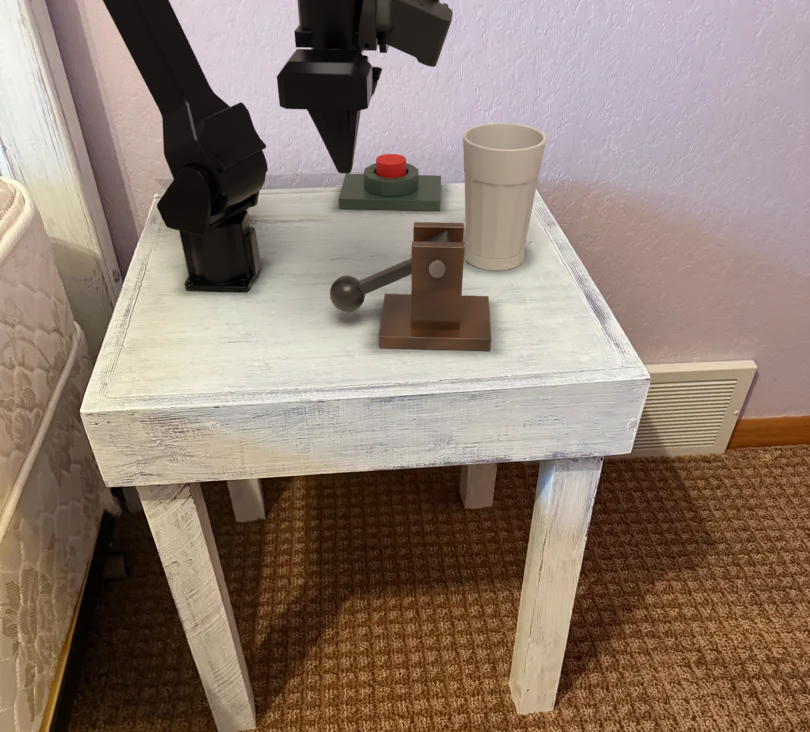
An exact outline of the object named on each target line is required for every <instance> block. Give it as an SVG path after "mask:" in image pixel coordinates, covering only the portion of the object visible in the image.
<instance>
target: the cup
mask: <svg viewBox="0 0 810 732" xmlns="http://www.w3.org/2000/svg"><path fill="white" fill-rule="evenodd" d="M546 142H547V136H546V134H545V133H544V132H543V131H542V130H540V129H538V128H535V127H533V126H529V125H525V124H519V123H511V122H493V123H492V122H491V123H482V124H478V125H474V126H472V127H470V128H468V129H466V130H465V131H464V132H463V134H462V146H463V147H462V148H463V150H462V151H463V172H464V221H465V222H464V223H465V224H464V233H465V242H464V260H465V261H466V262H467V263H468V264H469V265H471V266H473V267H475V268H477V269H481V270H484V271H485V270H486V271H507V270H511V269H514V268H517V267H519V266H520V265H521V264H523V262H524V260H525V252H526V243H527V238H528V233H529V227H530V222H531V216H532V212H533V206H534V201H535V196H536V191H537V185H538V181H539V175H540V173H541V167H542V162H543V157H544V153H545V147H546V144H547V143H546Z"/></svg>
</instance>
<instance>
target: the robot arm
mask: <svg viewBox="0 0 810 732" xmlns="http://www.w3.org/2000/svg"><path fill="white" fill-rule="evenodd" d="M296 1H297V13H298V14H297V15H298V26H297V27H296V28H295V30H294V31H293V32H294V42H295V48H297V49H295V50H294V52H293V53H292V54H291V56H290V57H289V58H288V59H287V61H286V62H285V64H284V65H283V66H282V68H281V69H280V71H279V72H278V74H277V75H276V81H277V82H276V84H277V93H278V103H279V107H280V108H283V109H285V110H306V111H307V113H308V114H309V116H310V118H311V120H312V122H313V123H314V126H315V128H316V130H317V132H318V134H319V136H320V138H321V141H322V142H323V144H324V146H325V148H326V150H327V153H328V154H329V157H330V159H331V162H332V163H333V164H334V167H335V169H336V172H337V173H339V174H345V175H346V174H352V170H353V167H354V160H355V154H356V147H357V139H358V134H359V133H358V132H359V126H360V120H361V112H362V111H363V110H367V109H369V106H370V103H371V100H372V97H374V95H375V93H376V89H377V87H378V83H379V82H378V81H380V78H381V75H382V72H383V68H382V67H379V66H373V65H372V64H371V63H370V62H369V61H370V59H369V56H368V55H365V54H364V53H365V51H369V52H370V51H371V52H374V51H375V52H376V51H377V50H378V49H379V53H380V54H387V53H388V50H389V47H391V48H394V49H396V50H398V51H401V52H402V53H405V54H407V55H409V56H411V57H414V58H415V59H416V61H417V62H418V63H420V64H422V65H424V66H428V67H431V68H434V67H437V64H438V63H439V59H440V55H441V53H442V50H443V47H444V44H445V41H446V38H447V36H448V32H449V30H450V27H451V25H452V21H453V14H454V13H453V12H454V11H453V10H452V9H451V8H450V7H449V4H448V3H446V2H443V3H442V2H440V0H296ZM102 2H103V4H104V6H105V8H106V10H107V12H108V14H109V16H110V18H111V19H112V22H113V23H114V26H115V27H116V29H117V31H118V34H119V35H120V37H121V39H122V41H123V43H124V45H125V46H126V48H127V50H128V52H129V54H130V56H131V58H132V60H133V62H134V64H135V67H136V68H137V70H138V71H139V75H141V78H142V79H143V82H144V83H145V85H146V87H147V89H148V91H149V93H150V95H151V97H152V99H153V101H154V103H155V105H156V106H157V109H158V111H159V113H160V115H161V119H162V120H161V123H162V140H163V141H162V143H163V144H162V145H163V156H164V159H165V161H166V163H167V166H168V168H169V171H170V174H171V176H172V178H173V179H172V181H171V183H170V184H169V186H168V187H167V188H166V190H165V191H164V193H163V195H161V198H160V199H159V200H158V201H157V203H156V208H157V210H158V213H159V214H160V217H161V220H162V221H163V224H164V226H165V227H166V228H168V229H170V230H175V231H179V238H180V242H181V246H182V250H183V256H184V260H185V265H186V270H187V275H188V276H187V278H186V280H185V282H184V288H185V290H190V291H194V290H195V291H228V292H229V291H235V292H246V291H248V290H250V289H251V287H252V284H253V281H254V278H256V276H257V275H258V272H259V271H260V269H261V258H260V252H259V245H258V244H259V243H258V237H257V229H256V228H255V227H254V226H253V225H252V226H250V225H251V224H250V219H249V214H248V210H249V209H250V208H253V207H256V206H257V205H258V203H259V196H260V191H261V190H262V188H263V186H264V184H265V182H266V176H267V172H268V171H269V169H268V160H267V159H266V156H265V152H264V151H263V150H265V149H267V144H266V143H265V142H264V141H263V140H262V139H261V137H260V135H259V134H258V132H257V130H256V128H255V126H254V123H253V120H252V116H251V113H250V110H249V109H248V108H247V106H246V105H245V104H244V103H243V102H238V103H236V104H233V105H231V106H230V105H229V104H228V103H226V101H224V100H223V99H222V98H221V97H220V96H218V95H217V93H215V91H214V90H213V88H212V87H211V86H210V83H209V81H208V80H207V77H206V75H205V72H204V71H203V68H202V67H201V64H200V62H199V61H198V58H197V56H196V54H195V52H194V50H193V48H192V46H191V44H190V41H189V39H188V37H187V35H186V33H185V31H184V29H183V27H182V25H181V22H180V21H179V19H178V16H177V14H176V12H175V10H174V8H173V6H172V3H171V2H170V0H102Z"/></svg>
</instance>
